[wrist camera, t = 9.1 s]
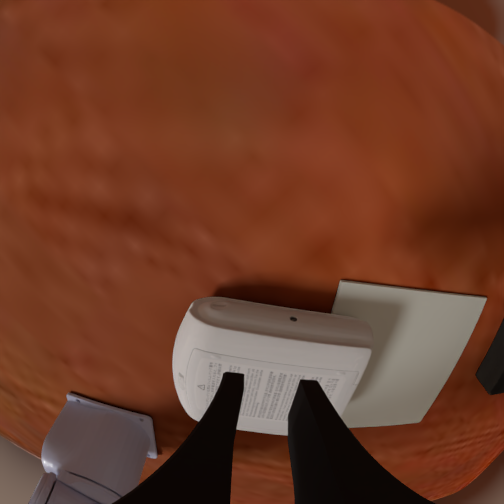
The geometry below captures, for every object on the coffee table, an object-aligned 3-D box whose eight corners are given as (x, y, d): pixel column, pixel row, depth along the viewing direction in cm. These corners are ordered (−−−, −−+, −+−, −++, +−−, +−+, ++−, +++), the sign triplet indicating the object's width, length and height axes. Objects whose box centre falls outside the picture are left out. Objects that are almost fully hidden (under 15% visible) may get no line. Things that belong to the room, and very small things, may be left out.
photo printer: (364, 307, 20) (184, 280, 20) (382, 344, 16) (164, 314, 16) (325, 406, 24) (181, 387, 24) (330, 445, 20) (168, 425, 20)
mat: (292, 424, 25) (292, 427, 25) (340, 279, 20) (341, 281, 20) (418, 420, 25) (419, 422, 25) (485, 296, 20) (487, 298, 20)
